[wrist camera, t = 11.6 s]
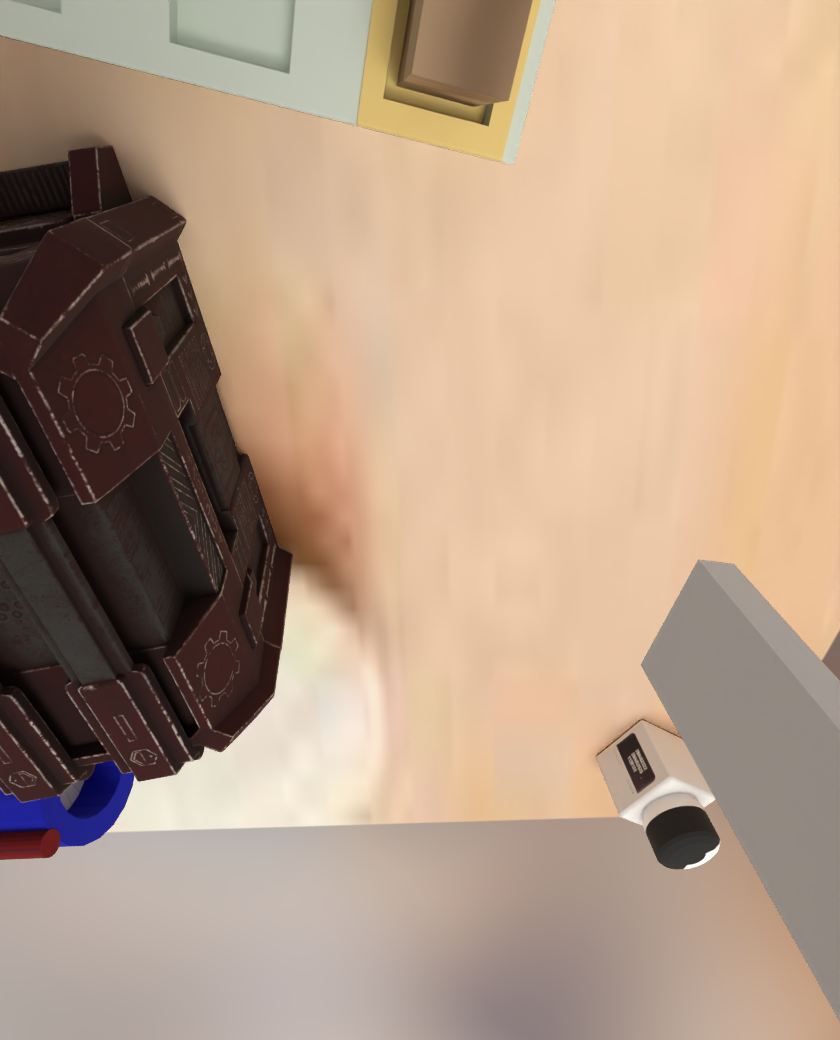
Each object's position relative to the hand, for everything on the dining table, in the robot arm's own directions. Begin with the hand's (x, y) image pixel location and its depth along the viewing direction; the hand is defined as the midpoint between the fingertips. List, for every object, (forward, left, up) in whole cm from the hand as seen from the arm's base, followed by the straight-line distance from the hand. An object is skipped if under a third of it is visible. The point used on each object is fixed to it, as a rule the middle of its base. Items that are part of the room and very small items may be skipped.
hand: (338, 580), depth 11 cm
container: (+42, -47, -35) cm, 72 cm away
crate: (-14, -16, -35) cm, 41 cm away
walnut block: (+4, +12, -33) cm, 35 cm away
